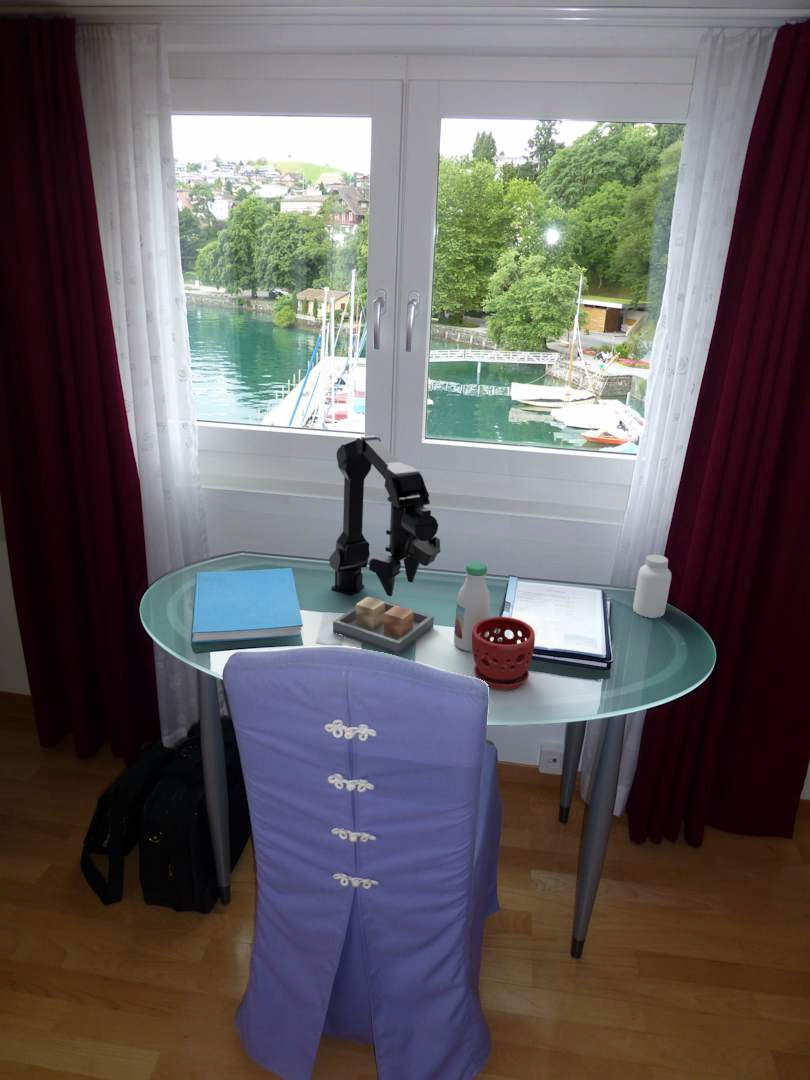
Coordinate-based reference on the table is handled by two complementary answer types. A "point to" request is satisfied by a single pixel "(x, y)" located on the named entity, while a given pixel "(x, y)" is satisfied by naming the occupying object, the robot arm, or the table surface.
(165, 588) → the table surface
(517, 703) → the table surface
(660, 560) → the pill bottle
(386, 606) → the charcoal tray
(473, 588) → the milk bottle
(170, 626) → the table surface
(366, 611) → the birch block
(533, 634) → the plant pot
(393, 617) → the terracotta block
